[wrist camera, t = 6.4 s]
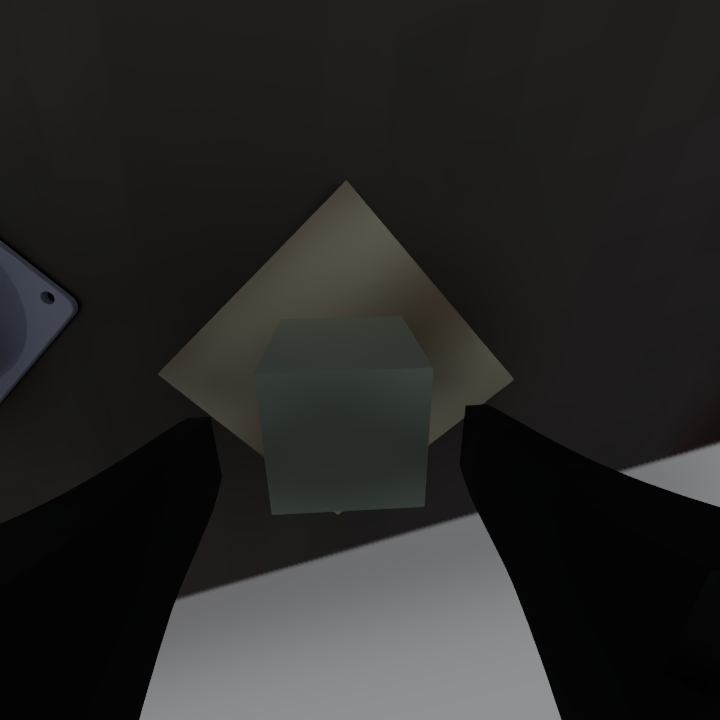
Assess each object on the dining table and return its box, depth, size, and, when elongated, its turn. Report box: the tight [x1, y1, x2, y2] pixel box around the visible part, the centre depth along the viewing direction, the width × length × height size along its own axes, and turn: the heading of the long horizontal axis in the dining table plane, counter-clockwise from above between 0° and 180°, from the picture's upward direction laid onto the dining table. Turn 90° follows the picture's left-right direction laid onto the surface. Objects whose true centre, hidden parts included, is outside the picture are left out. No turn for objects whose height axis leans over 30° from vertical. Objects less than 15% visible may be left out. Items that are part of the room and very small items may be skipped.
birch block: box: [158, 180, 514, 515], centre depth 16 cm, size 10×10×3 cm
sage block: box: [254, 316, 433, 515], centre depth 13 cm, size 4×4×5 cm
